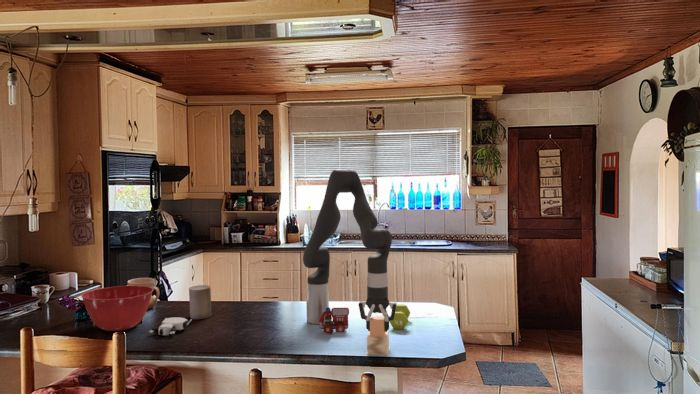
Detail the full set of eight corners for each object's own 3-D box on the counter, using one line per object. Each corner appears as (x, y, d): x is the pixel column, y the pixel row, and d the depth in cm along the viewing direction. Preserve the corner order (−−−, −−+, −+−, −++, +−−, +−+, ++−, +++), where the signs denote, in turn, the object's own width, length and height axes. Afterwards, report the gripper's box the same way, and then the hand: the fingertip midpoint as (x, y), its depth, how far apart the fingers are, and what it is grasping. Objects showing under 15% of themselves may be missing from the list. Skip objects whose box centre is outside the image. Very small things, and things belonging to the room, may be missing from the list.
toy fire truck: (320, 329, 225) (320, 304, 224) (349, 329, 224) (349, 305, 223) (318, 334, 218) (318, 309, 217) (348, 334, 217) (348, 309, 216)
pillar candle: (215, 314, 251) (214, 282, 250) (205, 319, 241) (204, 286, 240) (195, 313, 252) (194, 282, 252) (185, 319, 243) (184, 286, 242)
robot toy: (174, 340, 215) (193, 327, 230) (173, 329, 215) (192, 316, 229) (147, 338, 218) (167, 325, 232) (146, 328, 217) (166, 315, 232)
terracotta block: (369, 336, 191) (369, 319, 191) (371, 332, 196) (371, 315, 196) (383, 336, 190) (383, 320, 190) (385, 332, 195) (385, 316, 195)
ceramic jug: (116, 311, 258) (116, 282, 257) (135, 303, 272) (134, 276, 271) (150, 314, 254) (149, 284, 253) (167, 306, 268) (166, 278, 267)
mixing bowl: (111, 316, 249) (110, 283, 248) (166, 319, 243) (165, 285, 242) (67, 334, 221) (65, 297, 220) (129, 338, 215) (127, 300, 214)
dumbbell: (407, 330, 221) (407, 313, 221) (388, 330, 223) (388, 313, 223) (410, 320, 238) (410, 304, 237) (392, 319, 239) (392, 303, 239)
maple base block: (367, 353, 191) (367, 337, 190) (369, 347, 198) (369, 331, 197) (386, 354, 190) (386, 337, 189) (388, 348, 196) (388, 331, 196)
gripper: (356, 286, 190) (356, 333, 191) (396, 287, 188) (396, 334, 188) (359, 281, 197) (359, 327, 198) (398, 282, 195) (398, 328, 196)
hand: (377, 330), depth 193 cm, fingers open, 5 cm apart
